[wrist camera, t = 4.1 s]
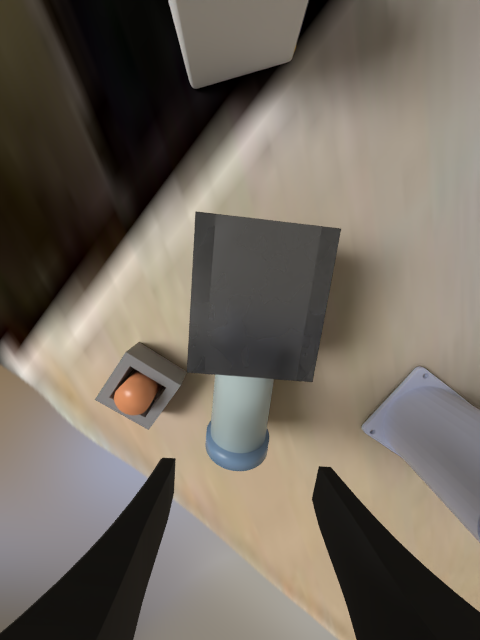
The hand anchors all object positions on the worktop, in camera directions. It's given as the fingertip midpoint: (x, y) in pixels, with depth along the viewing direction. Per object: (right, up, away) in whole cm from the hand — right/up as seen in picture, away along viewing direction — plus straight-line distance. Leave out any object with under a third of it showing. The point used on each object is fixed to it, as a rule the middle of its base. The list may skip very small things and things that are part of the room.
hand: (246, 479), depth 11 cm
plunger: (-8, +3, +8) cm, 12 cm away
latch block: (-8, +3, +9) cm, 12 cm away
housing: (0, +10, +7) cm, 12 cm away
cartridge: (0, +6, +8) cm, 10 cm away
